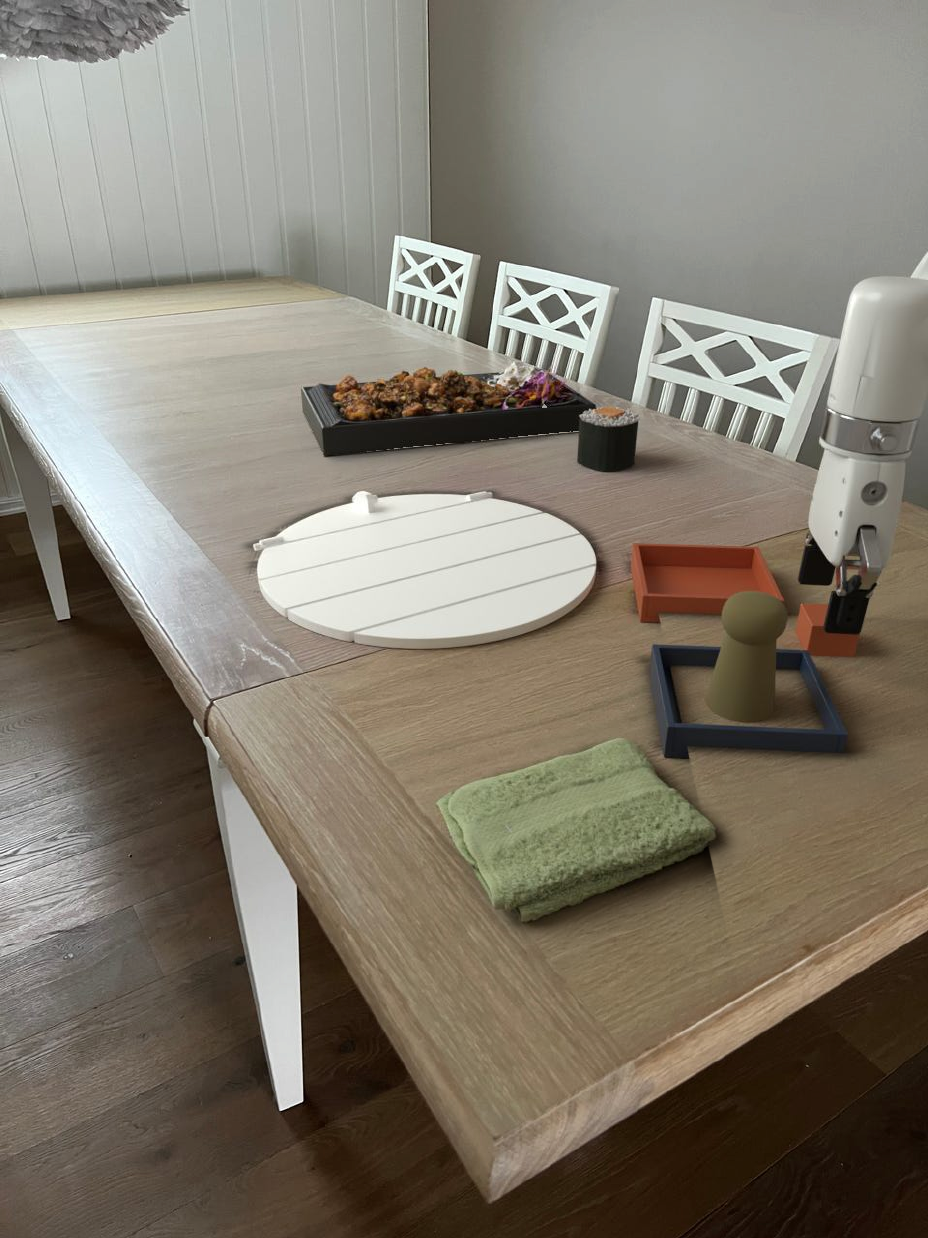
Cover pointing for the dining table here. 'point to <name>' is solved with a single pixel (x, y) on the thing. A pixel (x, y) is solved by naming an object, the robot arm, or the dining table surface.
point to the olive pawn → (747, 658)
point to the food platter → (440, 409)
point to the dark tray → (742, 737)
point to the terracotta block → (822, 634)
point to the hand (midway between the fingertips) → (827, 606)
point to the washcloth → (571, 828)
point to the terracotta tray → (695, 577)
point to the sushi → (607, 438)
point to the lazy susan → (426, 570)
